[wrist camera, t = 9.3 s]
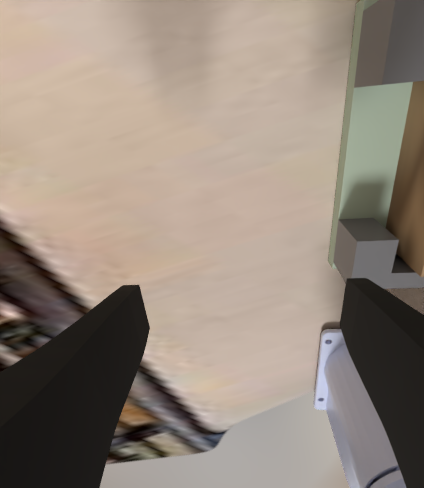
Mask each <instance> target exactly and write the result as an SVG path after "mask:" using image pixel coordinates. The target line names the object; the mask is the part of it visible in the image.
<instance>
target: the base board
mask: <svg viewBox="0 0 424 488" xmlns="http://www.w3.org/2000/svg"><path fill="white" fill-rule="evenodd" d="M377 1H379V0H360V1H359V2H358V3H356V10H355V19H354V28H353V38H352V47H351V56H350V65H349V74H348V83H347V93H346V102H345V111H344V120H343V129H342V138H341V147H340V157H339V166H338V175H337V184H336V193H335V202H334V212H333V221H332V230H331V239H330V248H329V257H328V262H329V264H330V265H331V267H332V269H337V268H336V266H335V264H334V263H333V260H334V252H335V243H336V235H337V227H338V220H339V219H357V218H374V219H375V220H377V221H378V222H379V223H380V224H381V225H382V226H384V227H385V228H386V223H387V218H388V213H389V207H390V202H391V197H392V191H393V186H394V181H395V175H396V170H397V165H398V160H399V154H400V149H401V144H402V138H403V133H404V128H405V123H406V117H407V112H408V107H409V101H410V96H411V91H412V86H413V82H406V83H396V84H386V85H377V86H367V87H357V88H354V84H355V75H356V67H357V58H358V50H359V42H360V33H361V25H362V16H363V11H364V10H366V9H367V8H368V7H370V6H371V5H373V4H374V3H376V2H377Z"/></svg>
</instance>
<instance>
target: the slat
mask: <svg viewBox="0 0 424 488" xmlns="http://www.w3.org/2000/svg"><path fill="white" fill-rule="evenodd" d="M386 229H387V230H388V231H389V232H390V233H392V234H393V235H394V236H395V237H396V238H397V239H399V242H398V246H397V251H396V254H397V255H398V256H399V257H400V258H401V259H402V260H403V261H405V262H406V263H407V264H408V265H409V266H410V267H411V268H412V269H413V270H414V271H415V272H416V273H417V274H418V275H419V276H420V277H424V81H416V82H413V86H412V91H411V96H410V101H409V107H408V112H407V117H406V123H405V128H404V133H403V138H402V144H401V149H400V154H399V160H398V165H397V170H396V175H395V181H394V186H393V191H392V197H391V202H390V207H389V213H388V218H387V223H386Z"/></svg>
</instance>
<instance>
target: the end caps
mask: <svg viewBox="0 0 424 488" xmlns="http://www.w3.org/2000/svg"><path fill="white" fill-rule="evenodd" d="M416 81H424V0H379V1H377V2H376V3H374V4H373V5H371V6H370V7H368V8H367V9H366V10H364V11H363V16H362V25H361V33H360V42H359V50H358V58H357V67H356V75H355V84H354V88H357V87H367V86H377V85H386V84H396V83H406V82H416ZM398 242H399V239H397V238H396V237H395V236H394V235H393V234H392V233H390V232H389V231H388V230H387V229H386V228H385V227H384V226H382V225H381V224H380V223H379V222H378V221H377V220H375V219H374V218H357V219H339V220H338V227H337V235H336V243H335V252H334V260H333V263H334V264H335V266H336V268H337V269H338V271H339V273H340V274H341V276H342V278H343V279H344V281H345V283H346V280H347V278H367V279H369V280H371V281H372V282H374V283H375V284H377V285H379V286H380V287H382V288H383V289H397V288H424V277H420V276H419V275H418V274H417V273H416V272H415V271H414V270H413V269H412V268H411V267H410V266H409V265H408V264H407V263H406V262H405V261H403V260H402V259H401V258H400V257H399V256H398V255H397V254H396V251H397V246H398Z"/></svg>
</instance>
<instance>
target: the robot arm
mask: <svg viewBox="0 0 424 488" xmlns="http://www.w3.org/2000/svg"><path fill="white" fill-rule="evenodd" d="M340 327H341V329H326V330H324V331H323V332H322V333H321V341H320V350H319V359H318V368H317V377H316V385H315V394H314V407H315V408H316V409H318V410H326V411H327V414H328V417H329V421H330V424H331V428H332V431H333V434H334V438H335V442H336V445H337V448H338V452H339V455H340V459H341V462H342V466H343V469H344V472H345V476H346V479H347V482H348V484H349V487H350V488H424V315H423V314H421V313H420V312H418V311H416V310H415V309H413V308H412V307H410V306H409V305H407V304H406V303H404V302H403V301H401V300H400V299H398V298H397V297H395V296H394V295H392V294H391V293H389V292H388V291H386V290H385V289H383V288H382V287H380V286H379V285H377V284H375V283H374V282H372V281H371V280H369V279H367V278H347V280H346V287H345V294H344V300H343V307H342V314H341V321H340ZM149 329H150V327H149V323H148V319H147V315H146V311H145V307H144V303H143V299H142V295H141V291H140V287H139V285H123V286H121V287H120V288H119V289H117V290H116V291H115V292H113V293H112V294H111V295H109V296H108V297H107V298H106V299H104V300H103V301H102V302H101V303H99V304H98V305H97V306H96V307H94V308H93V309H92V310H90V311H89V312H88V313H87V314H85V315H84V316H83V317H82V318H80V319H79V320H78V321H76V322H75V323H74V324H72V325H71V326H70V327H68V328H67V329H65V330H64V331H63V332H61V333H60V334H59V335H57V336H56V337H54V338H53V339H52V340H50V341H49V342H48V343H46V344H45V345H43V346H42V347H40V348H39V349H37V350H36V351H34V352H33V353H31V354H29V355H28V356H26V357H25V358H23V359H22V360H20V361H18V362H17V363H15V364H14V365H12V366H10V367H9V368H7V369H5V370H3V371H2V372H0V488H99V487H100V483H101V479H102V476H103V471H104V468H105V464H106V460H107V457H108V453H109V450H110V446H111V443H112V439H113V436H114V432H115V429H116V426H117V423H118V420H119V417H120V415H121V412H122V409H123V407H124V404H125V402H126V399H127V396H128V394H129V391H130V389H131V386H132V383H133V381H134V378H135V376H136V373H137V370H138V368H139V365H140V362H141V360H142V357H143V354H144V350H145V346H146V342H147V338H148V334H149ZM326 340H328V341H326Z"/></svg>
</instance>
